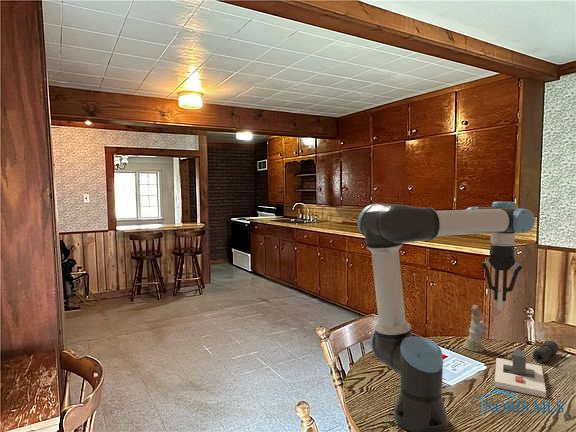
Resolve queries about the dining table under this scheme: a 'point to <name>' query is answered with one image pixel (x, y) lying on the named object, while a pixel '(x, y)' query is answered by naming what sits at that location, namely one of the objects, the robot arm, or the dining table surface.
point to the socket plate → (520, 378)
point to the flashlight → (545, 351)
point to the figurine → (476, 331)
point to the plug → (519, 362)
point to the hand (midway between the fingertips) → (499, 309)
